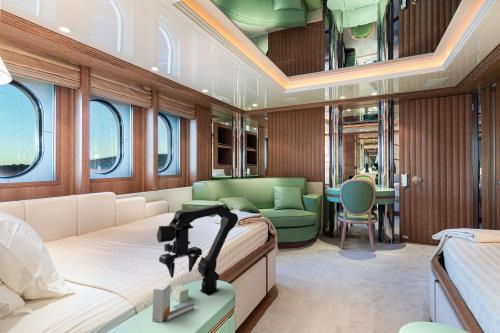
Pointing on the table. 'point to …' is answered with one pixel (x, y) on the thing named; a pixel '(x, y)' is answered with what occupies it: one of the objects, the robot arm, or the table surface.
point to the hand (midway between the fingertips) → (181, 274)
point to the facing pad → (182, 304)
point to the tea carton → (180, 293)
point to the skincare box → (161, 301)
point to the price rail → (179, 312)
